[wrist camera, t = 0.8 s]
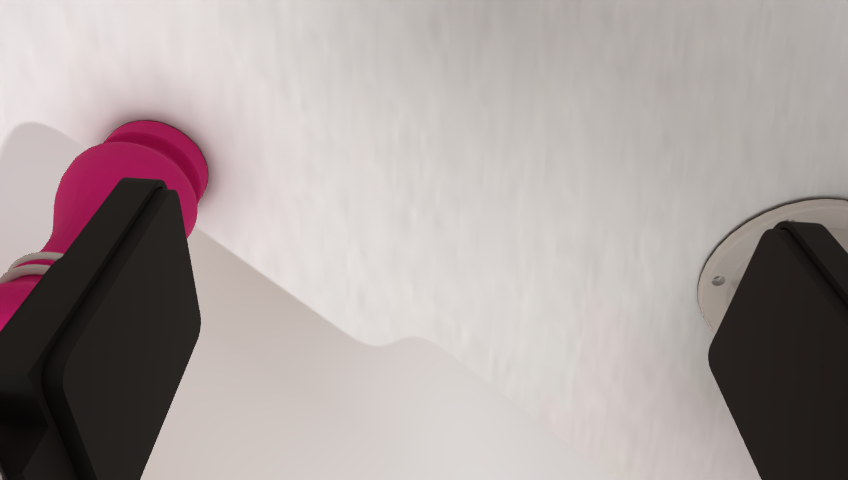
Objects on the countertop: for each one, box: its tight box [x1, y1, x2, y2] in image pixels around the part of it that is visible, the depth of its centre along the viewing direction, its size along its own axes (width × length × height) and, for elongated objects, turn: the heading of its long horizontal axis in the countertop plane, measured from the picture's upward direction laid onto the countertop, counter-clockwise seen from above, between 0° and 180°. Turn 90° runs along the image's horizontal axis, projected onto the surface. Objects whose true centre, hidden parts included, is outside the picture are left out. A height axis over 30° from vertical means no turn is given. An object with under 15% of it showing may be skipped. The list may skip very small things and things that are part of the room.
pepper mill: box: [0, 121, 208, 331], centre depth 32 cm, size 7×7×20 cm
